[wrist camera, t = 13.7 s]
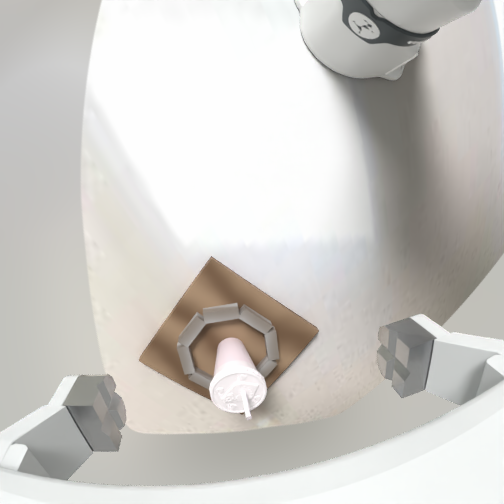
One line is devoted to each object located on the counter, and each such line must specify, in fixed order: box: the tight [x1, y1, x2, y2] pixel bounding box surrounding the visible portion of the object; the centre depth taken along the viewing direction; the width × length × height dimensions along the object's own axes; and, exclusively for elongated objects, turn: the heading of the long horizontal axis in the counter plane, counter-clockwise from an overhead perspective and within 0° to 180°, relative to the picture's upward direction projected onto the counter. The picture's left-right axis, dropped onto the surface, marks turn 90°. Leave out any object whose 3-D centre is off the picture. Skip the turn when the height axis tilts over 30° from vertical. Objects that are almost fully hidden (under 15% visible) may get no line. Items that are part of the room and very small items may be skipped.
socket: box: [139, 256, 319, 415], centre depth 41 cm, size 18×18×3 cm
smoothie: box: [209, 338, 267, 420], centre depth 35 cm, size 6×6×14 cm
